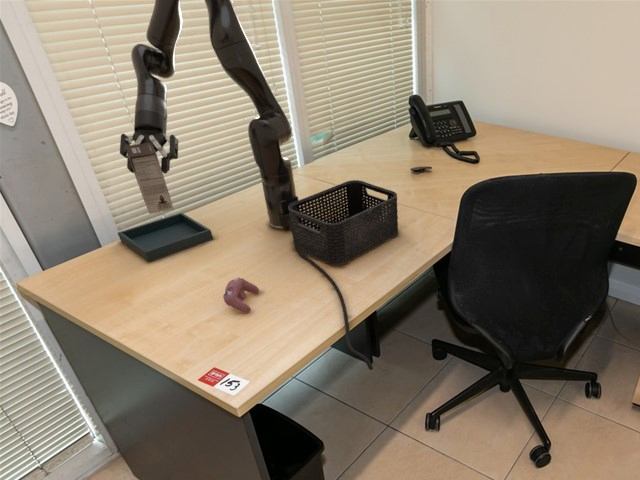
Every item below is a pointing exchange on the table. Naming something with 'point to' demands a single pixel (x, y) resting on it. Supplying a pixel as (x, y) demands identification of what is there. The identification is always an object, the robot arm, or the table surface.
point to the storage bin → (343, 222)
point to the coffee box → (149, 177)
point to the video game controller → (238, 294)
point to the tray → (165, 236)
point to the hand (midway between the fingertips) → (148, 172)
